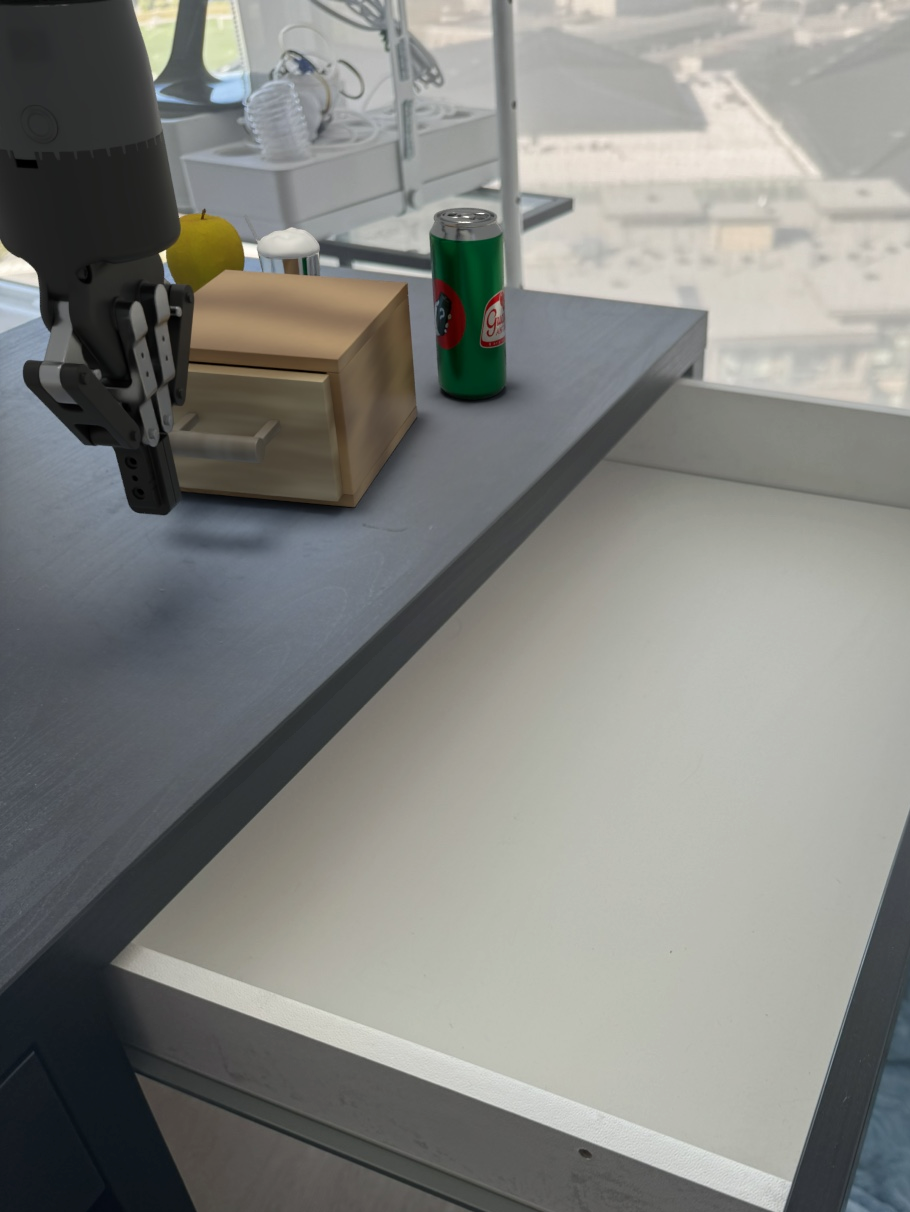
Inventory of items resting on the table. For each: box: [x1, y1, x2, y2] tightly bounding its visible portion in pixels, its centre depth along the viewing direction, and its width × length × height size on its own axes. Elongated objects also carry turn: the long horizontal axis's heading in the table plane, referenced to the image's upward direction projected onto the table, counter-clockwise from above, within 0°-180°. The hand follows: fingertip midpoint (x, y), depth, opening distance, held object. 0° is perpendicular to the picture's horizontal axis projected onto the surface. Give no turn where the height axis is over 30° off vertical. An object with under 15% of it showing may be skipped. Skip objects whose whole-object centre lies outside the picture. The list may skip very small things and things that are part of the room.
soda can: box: [428, 207, 508, 401], centre depth 83 cm, size 5×5×12 cm
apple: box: [165, 208, 246, 293], centre depth 98 cm, size 6×6×8 cm
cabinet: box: [180, 270, 418, 508], centre depth 75 cm, size 15×13×9 cm
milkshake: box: [243, 214, 321, 276], centre depth 88 cm, size 4×5×10 cm
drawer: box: [168, 361, 343, 501], centre depth 72 cm, size 18×11×7 cm, turn 171°
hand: (156, 507), depth 59 cm, fingers closed
